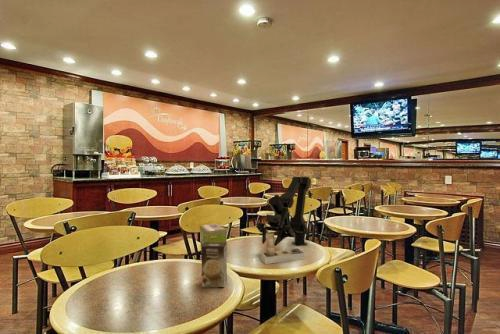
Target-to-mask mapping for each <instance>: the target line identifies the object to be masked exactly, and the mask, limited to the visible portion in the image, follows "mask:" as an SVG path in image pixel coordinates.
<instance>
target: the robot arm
mask: <svg viewBox="0 0 500 334" xmlns="http://www.w3.org/2000/svg"><path fill="white" fill-rule="evenodd" d="M311 179H312V178H310V176H293V177H292V178H291V182H290V184H289V185H288V187H287V189H286V190H285V192H283V193H281V195H278V194H275V195H274V196H272V197H270V198H269V199H268V204H269V205H270V207H271V210H272V211H273V212H274V214H266V217H265V222H257V223H256V225H255V227H256V229H257V230H258V231H259V232H260V233H261V235H262V237H261V239H262V240H261V242H262V244H263V245H265V244H266V233H269V232H268V231H272V232H277V236H276V238H275V240H274V245H275V247H277V246H278V245H279V243H281V242H282V241H283V240H285V239H286V238H288V237H290V238H294V241H292V244H294V245H295V246H305V245H307V244H308V243H307V242H306V241H305V235H308V232H309V229H308V226H307V225H306V220H305V217H304V213H305V205H306V199H307V198H306V197H307V192H308V191H309V189H310V188H311V184H312V180H311ZM296 192H297V195H296ZM295 195H296V201H294V197H295ZM294 202H296V204H295V212H294V215H293V216H292V217H290V221H289V222H290V223H289V225H286V222H285V220H286V218H287V216H289V212H288V209H292V207H293V205H294ZM266 222H267V224H268V225H267V224H266Z"/></svg>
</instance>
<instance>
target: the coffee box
mask: <svg viewBox="0 0 500 334" xmlns="http://www.w3.org/2000/svg"><path fill="white" fill-rule="evenodd" d="M200 253H201V254H200V255H201V287H202V288H210V287H224V288H225V287H226V285H227V283H228V282H227V281H228V274H227V273H228V272H227V271H228V269H227V268H228V266H227V265H228V264H227V258H228V252H227V253H226V242H204V244H203V245H202V246H201V245H200ZM226 282H227V283H226ZM225 284H226V285H225Z"/></svg>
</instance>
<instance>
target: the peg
mask: <svg viewBox="0 0 500 334" xmlns="http://www.w3.org/2000/svg"><path fill="white" fill-rule="evenodd" d="M274 244H275V233H274V232H268V233H266V241H265V246H266V247H265V248H266V251H265V252H266V256H267V257H268V256H275V251H276V249H275V248H276V246H275V245H274Z"/></svg>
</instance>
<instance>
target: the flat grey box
mask: <svg viewBox="0 0 500 334" xmlns="http://www.w3.org/2000/svg"><path fill="white" fill-rule="evenodd" d="M305 255H306V254H305V252H303V251H302V250H301V249H299V248H290V249H281V250H275V256H268V257H267V256H266V251H264V252H263V251H262V252H260V253H259V257H260V260H261V261H262V262H263V263H264V265H269V264H273V263H274V264H277V263H285V262H291V261H292V262H294V261H300V260H305V258H306V256H305Z"/></svg>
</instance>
